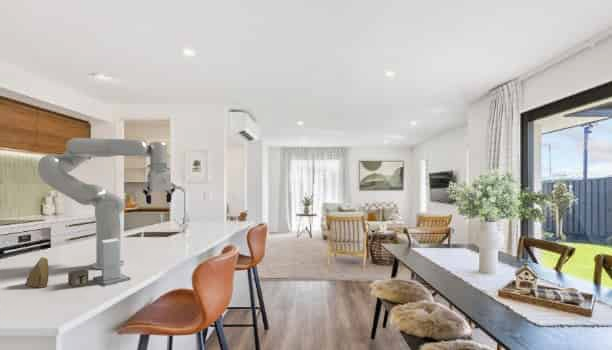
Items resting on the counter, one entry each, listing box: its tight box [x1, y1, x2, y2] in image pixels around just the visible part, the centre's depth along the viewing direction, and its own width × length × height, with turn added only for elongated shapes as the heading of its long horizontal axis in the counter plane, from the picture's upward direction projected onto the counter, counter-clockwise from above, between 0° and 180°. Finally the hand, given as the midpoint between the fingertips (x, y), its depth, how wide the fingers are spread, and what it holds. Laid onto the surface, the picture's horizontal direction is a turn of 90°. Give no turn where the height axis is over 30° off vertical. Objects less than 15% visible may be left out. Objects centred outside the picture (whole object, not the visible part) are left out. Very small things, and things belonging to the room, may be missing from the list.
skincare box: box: [101, 238, 122, 281], centre depth 127 cm, size 8×6×15 cm
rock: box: [24, 257, 49, 288], centre depth 120 cm, size 11×9×10 cm
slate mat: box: [92, 273, 131, 287], centre depth 127 cm, size 12×9×1 cm
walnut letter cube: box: [67, 268, 89, 288], centre depth 121 cm, size 5×5×5 cm
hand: (159, 203), depth 154 cm, fingers open, 9 cm apart
